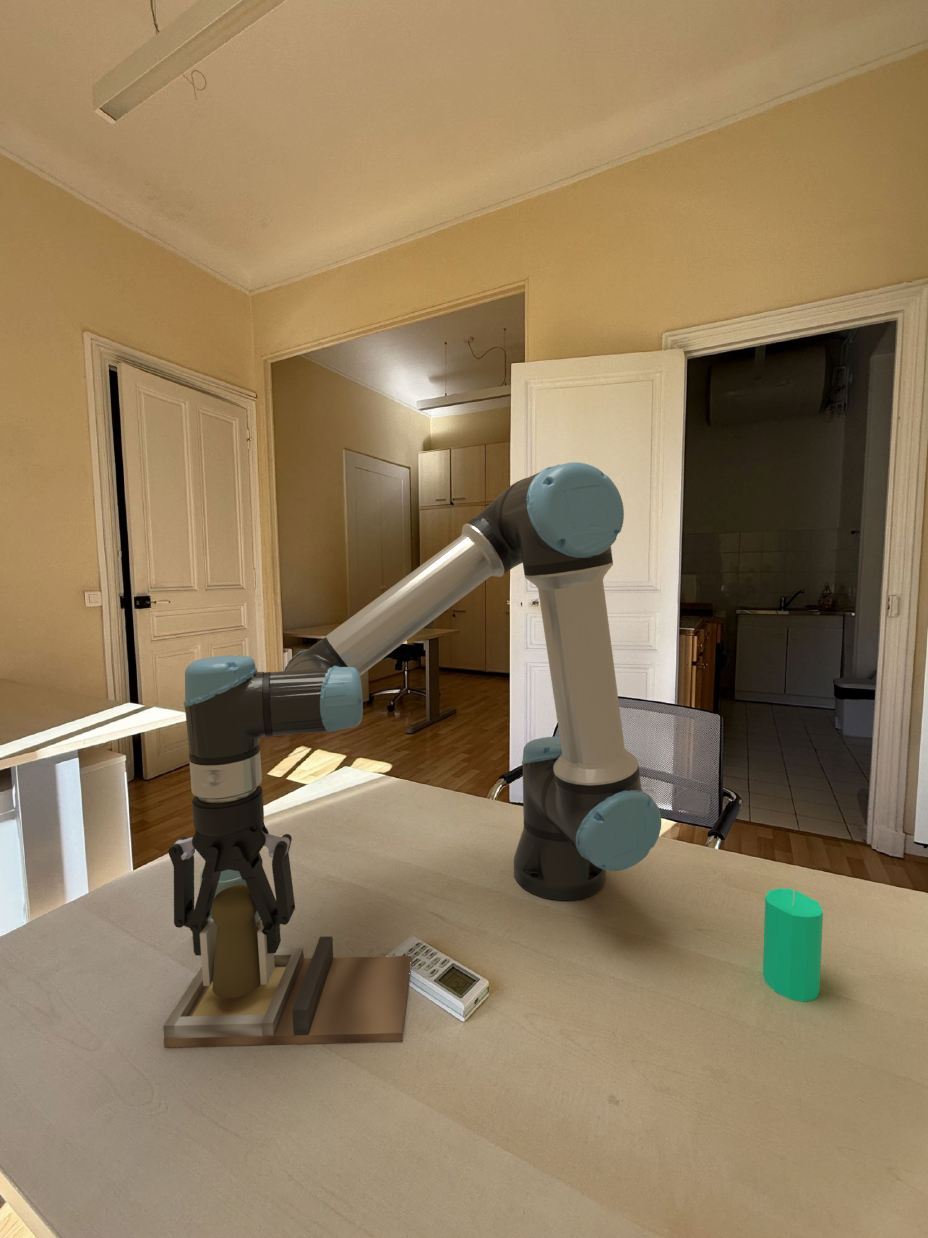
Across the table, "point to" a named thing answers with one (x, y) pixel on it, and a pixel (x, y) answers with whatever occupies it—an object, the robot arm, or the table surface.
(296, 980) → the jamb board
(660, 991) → the table surface
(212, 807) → the robot arm
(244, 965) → the brown game pawn
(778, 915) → the candle
